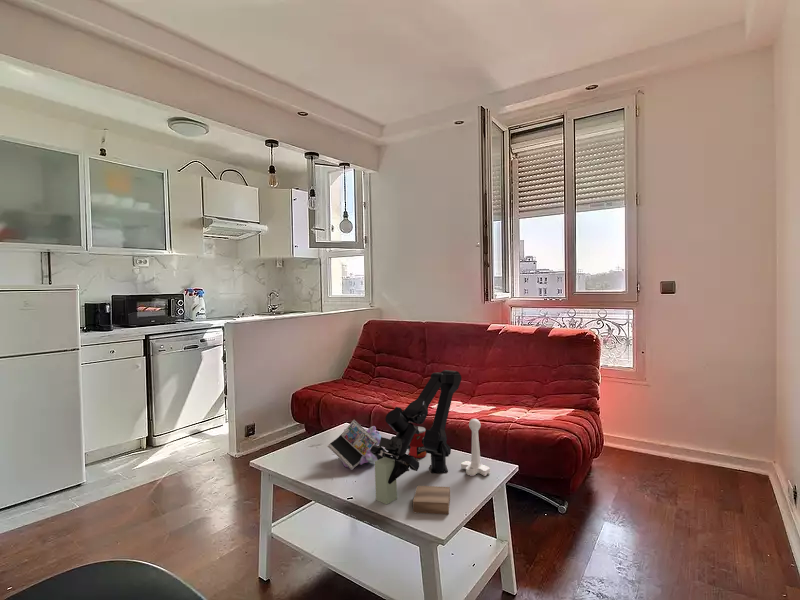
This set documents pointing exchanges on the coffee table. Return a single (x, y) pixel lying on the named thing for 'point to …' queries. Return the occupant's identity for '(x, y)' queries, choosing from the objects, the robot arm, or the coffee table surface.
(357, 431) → the colorful box
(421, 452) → the canned food
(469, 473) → the joystick
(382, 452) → the robot arm
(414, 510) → the base block
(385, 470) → the post
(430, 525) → the coffee table surface
